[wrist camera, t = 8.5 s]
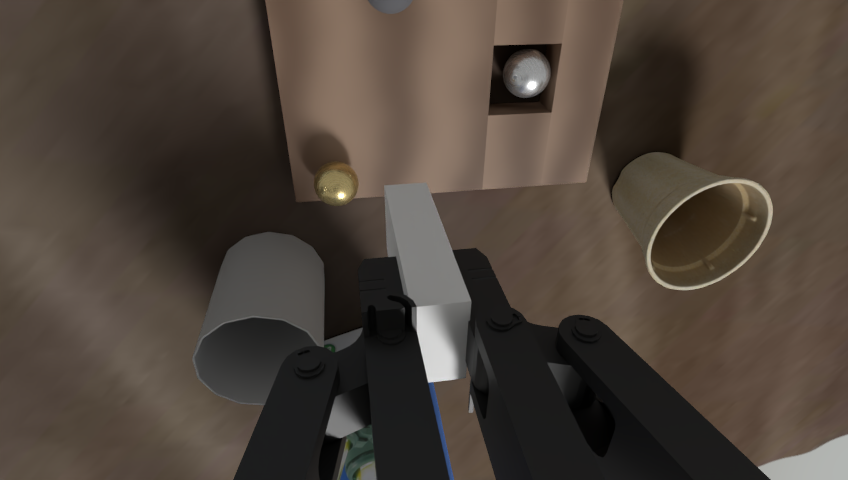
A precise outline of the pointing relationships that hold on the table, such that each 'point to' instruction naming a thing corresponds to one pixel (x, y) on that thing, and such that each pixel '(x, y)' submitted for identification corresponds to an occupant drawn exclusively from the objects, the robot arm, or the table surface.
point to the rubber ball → (390, 5)
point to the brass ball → (336, 183)
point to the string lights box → (370, 430)
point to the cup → (260, 315)
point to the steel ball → (526, 73)
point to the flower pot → (690, 219)
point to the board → (438, 91)
